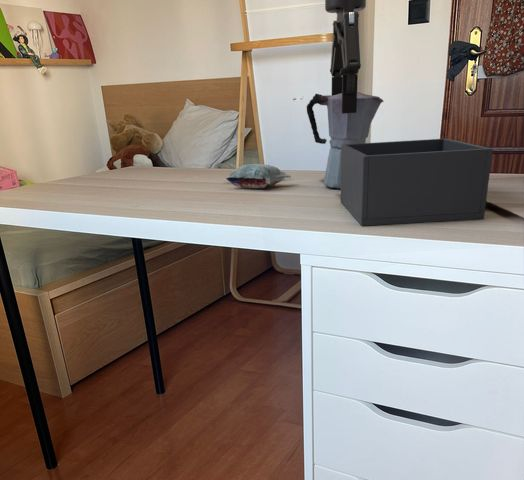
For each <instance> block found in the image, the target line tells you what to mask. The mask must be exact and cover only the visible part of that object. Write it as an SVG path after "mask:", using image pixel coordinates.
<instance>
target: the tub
mask: <svg viewBox="0 0 524 480" xmlns="http://www.w3.org/2000/svg"><path fill="white" fill-rule="evenodd" d="M493 151H494V149H493V148H491V147H487V146H483V145H482V146H481V145H477V144H473V143H468V142H464V141H459V140H455V139H450V138H431V139H429V138H428V139H414V140H412V139H411V140H397V141H395V140H394V141H382V142H381V141H380V142H379V141H377V142H365V143H360V144H344V145H341V189H340V203H341V204H342V206H343V207H344V208H345V209H346V210H347V211H348V213H349V214H350V215H351V216H352V217H353V218H354V219H355V220H356V222H357V223H358V224H359V225H360V226H361V227H366V226H367V227H370V226H386V225H387V226H388V225H400V224H401V225H402V224H403V225H405V224H419V223H420V224H422V223H437V222H439V223H440V222H455V221H470V220H474V221H475V220H484V219H485V212H486V205H487V197H488V190H489V183H490V182H489V181H490V174H491V168H492V158H493Z"/></svg>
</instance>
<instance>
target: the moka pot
mask: <svg viewBox="0 0 524 480" xmlns="http://www.w3.org/2000/svg"><path fill="white" fill-rule="evenodd" d="M382 103H384V100H383V98H381V97H380V96H376V95H371V94H366V93H362V92H359V91H357V111H356V113H342V93H340V94H337V95H332V94H329V95H328V94H327V95H322V94H319V93H315V94H314V96H313V97H312V98H311V99H310V100H309V102H308V103H307V105H306V114H307V117H308V121H309V124H310V128H311V130H312V134H313V139H314V142H315V143H317V144H321V145H326V143H327V141H328V139H326V138H321V137H320V133H319V131H318V125H317V121H316V117H315V116H316V115H315V112H314V109H313V107H314V106H315V105H317V104H318V105H320V106H326V108H327V109H326V110H327V122H328V136H329V138H330V139H329V146H330V148H329V151H328V156H327V163H326V168H325V173H324V179H323V186H325V187H328V188H332V189H337V190H338V189H339V190H341V145H344V144H360V143H367V142H366V140H367V138H368V137H369V134H370V128H371V124H372V122H373V120H374V118H375V116H376V114H377V112H378V110H379V108H380V106H381V104H382Z"/></svg>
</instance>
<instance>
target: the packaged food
mask: <svg viewBox="0 0 524 480" xmlns="http://www.w3.org/2000/svg"><path fill="white" fill-rule="evenodd" d="M288 178H291V175H289V174H287V172H285V171H283V170H280V168H278V167H276V166H274V165H270V164H264V163H263V164H261V163H252V164H251V163H249V164H243V165H241V166H238V167H237V168H235V169H234V170H233V171H231V172H230V173H229V174H228V175H227V176H226V178H225V179H226V180H227V181H228V182H229V183H231V185H233V187H239V188H244V189H245V188H246V189H267V188H270V187H272V186H274V185H276V184H279V183H281V182H282V181H283V180H285V179H288Z"/></svg>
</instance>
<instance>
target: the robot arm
mask: <svg viewBox="0 0 524 480" xmlns="http://www.w3.org/2000/svg"><path fill="white" fill-rule="evenodd" d="M366 6H367V0H324V9H325V11H326V13H329V14H336V20H333V22H332V42H331V54H330V55H331V57H330V69H329V73H330V75H331V95H337V94H340V93H342V113H356V111H357V92H358V73H359V70H361V66H362V64H361V51H360V49H361V48H360V33H359V17H360V14H359V12H361V11H363V10H365V8H366Z"/></svg>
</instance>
